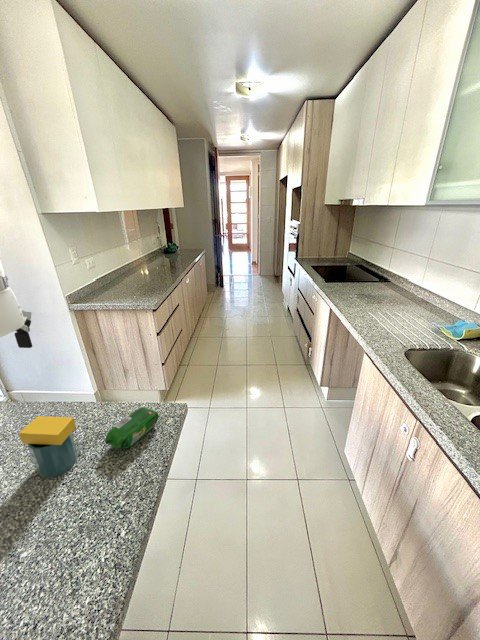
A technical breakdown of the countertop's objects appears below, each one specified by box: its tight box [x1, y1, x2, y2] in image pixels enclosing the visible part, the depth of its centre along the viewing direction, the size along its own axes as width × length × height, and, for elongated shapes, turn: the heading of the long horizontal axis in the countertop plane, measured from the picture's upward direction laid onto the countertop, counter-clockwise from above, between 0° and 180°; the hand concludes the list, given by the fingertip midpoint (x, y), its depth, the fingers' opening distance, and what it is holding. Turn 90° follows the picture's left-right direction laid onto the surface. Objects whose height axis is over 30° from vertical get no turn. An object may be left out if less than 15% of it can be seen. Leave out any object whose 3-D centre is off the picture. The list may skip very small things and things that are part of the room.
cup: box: [27, 432, 79, 479], centre depth 63 cm, size 8×8×9 cm
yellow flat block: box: [18, 415, 77, 445], centre depth 61 cm, size 9×6×3 cm, turn 87°
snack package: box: [104, 406, 160, 454], centre depth 72 cm, size 7×16×5 cm, turn 152°
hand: (9, 356), depth 61 cm, fingers open, 9 cm apart
